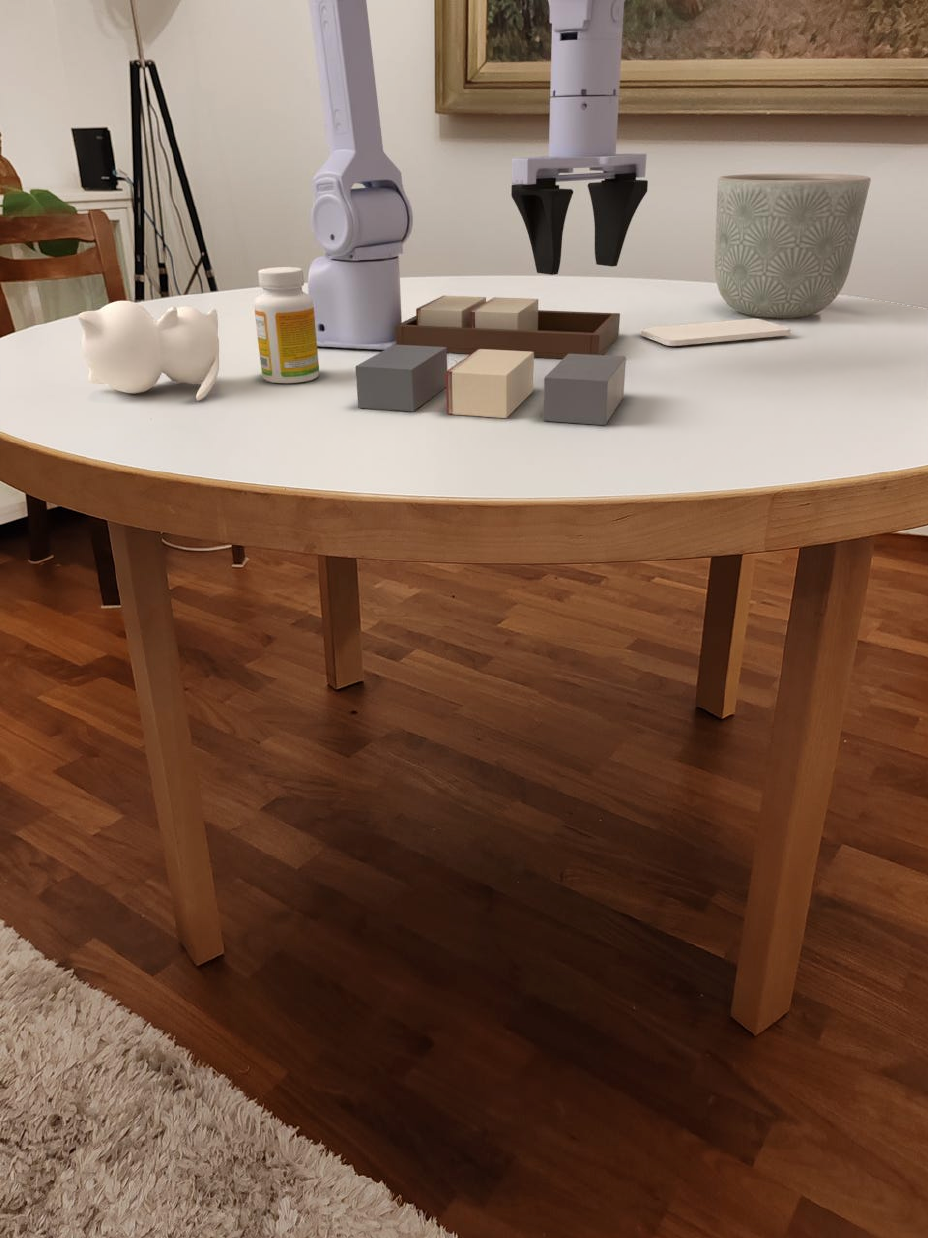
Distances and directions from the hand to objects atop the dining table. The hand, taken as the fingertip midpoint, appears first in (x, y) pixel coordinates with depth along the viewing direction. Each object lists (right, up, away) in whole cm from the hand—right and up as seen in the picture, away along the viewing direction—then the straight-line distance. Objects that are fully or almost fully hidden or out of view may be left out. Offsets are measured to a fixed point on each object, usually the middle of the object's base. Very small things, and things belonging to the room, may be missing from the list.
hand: (577, 269), depth 85 cm
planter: (+28, +6, +32) cm, 43 cm away
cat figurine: (-38, -11, 0) cm, 39 cm away
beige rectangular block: (-8, -13, -5) cm, 16 cm away
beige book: (-11, 0, +19) cm, 22 cm away
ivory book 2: (-6, -1, +17) cm, 18 cm away
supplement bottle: (-27, -9, +5) cm, 28 cm away
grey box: (0, -14, -7) cm, 16 cm away
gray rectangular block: (-15, -12, -2) cm, 20 cm away
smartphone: (+17, 0, +19) cm, 26 cm away
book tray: (-5, -2, +17) cm, 18 cm away
